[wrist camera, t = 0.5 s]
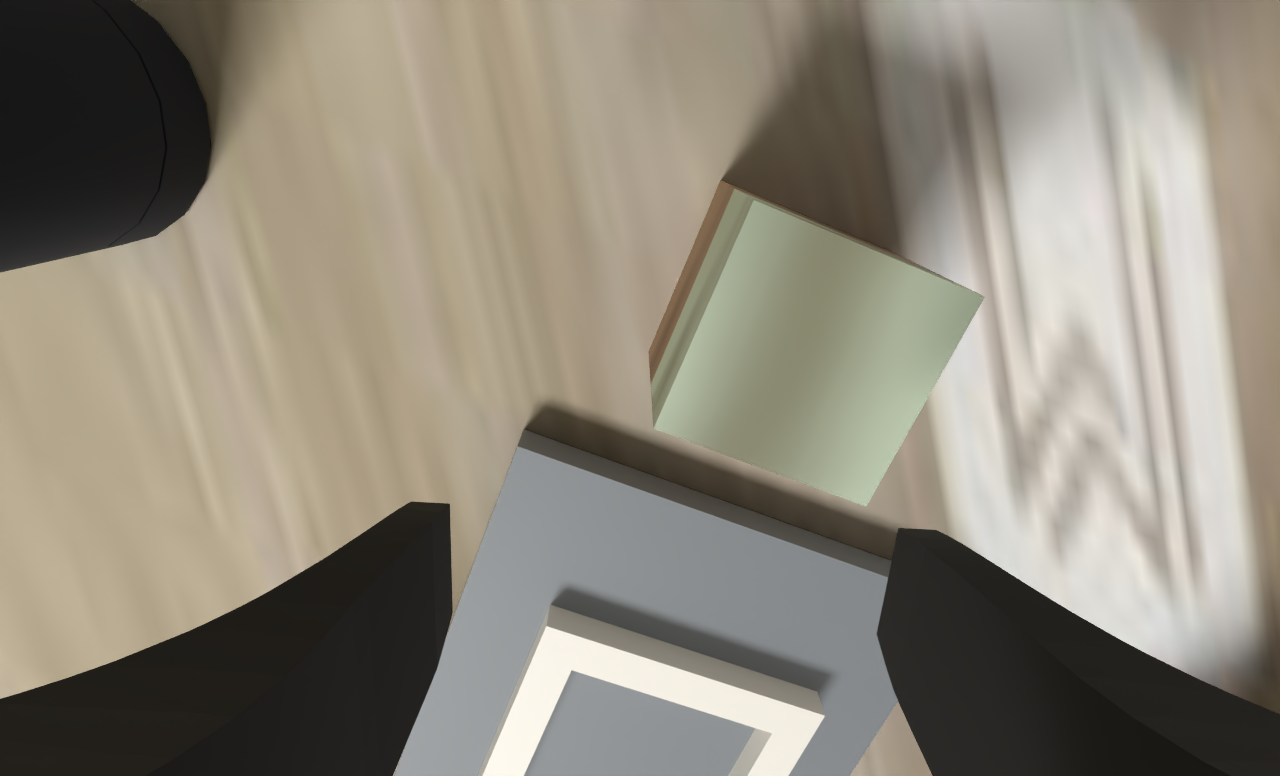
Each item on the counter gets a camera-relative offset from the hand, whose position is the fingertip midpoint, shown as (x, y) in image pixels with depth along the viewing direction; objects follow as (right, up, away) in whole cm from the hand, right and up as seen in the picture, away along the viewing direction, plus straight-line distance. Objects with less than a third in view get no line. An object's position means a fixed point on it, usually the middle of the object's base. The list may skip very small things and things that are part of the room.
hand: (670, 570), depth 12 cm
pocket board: (-1, -9, +13) cm, 16 cm away
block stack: (+3, +5, +8) cm, 10 cm away
